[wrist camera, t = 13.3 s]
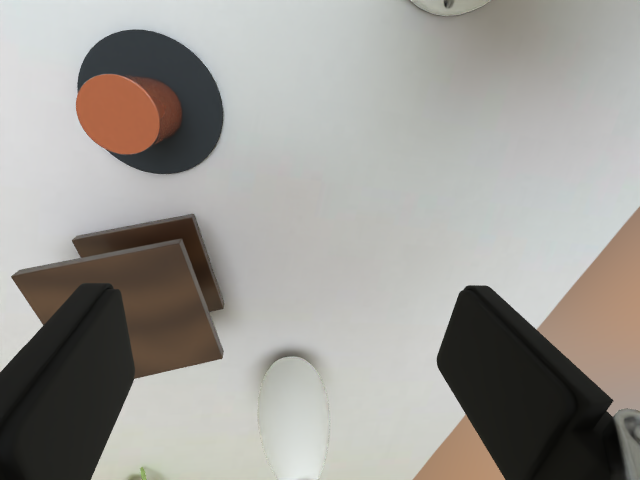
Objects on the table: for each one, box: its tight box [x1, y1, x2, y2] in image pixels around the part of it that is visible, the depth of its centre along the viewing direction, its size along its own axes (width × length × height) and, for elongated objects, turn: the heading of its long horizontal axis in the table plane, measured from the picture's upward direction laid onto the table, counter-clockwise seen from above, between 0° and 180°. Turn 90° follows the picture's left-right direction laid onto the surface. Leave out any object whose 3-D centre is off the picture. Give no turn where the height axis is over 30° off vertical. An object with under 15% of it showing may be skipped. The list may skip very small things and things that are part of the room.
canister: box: [76, 74, 182, 154], centre depth 24 cm, size 5×5×7 cm
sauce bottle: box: [258, 357, 330, 480], centre depth 34 cm, size 8×8×18 cm
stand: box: [11, 214, 224, 379], centre depth 30 cm, size 12×12×8 cm
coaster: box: [78, 30, 223, 174], centre depth 27 cm, size 11×11×1 cm
